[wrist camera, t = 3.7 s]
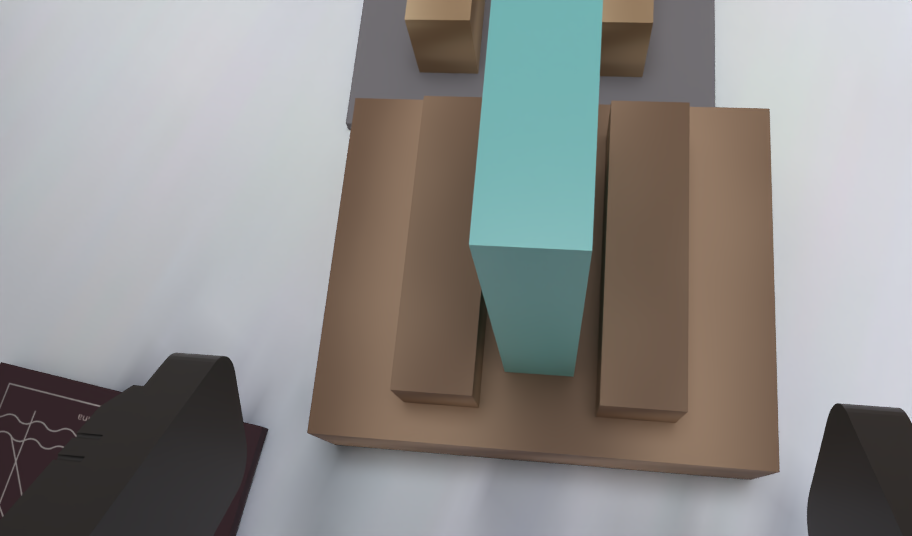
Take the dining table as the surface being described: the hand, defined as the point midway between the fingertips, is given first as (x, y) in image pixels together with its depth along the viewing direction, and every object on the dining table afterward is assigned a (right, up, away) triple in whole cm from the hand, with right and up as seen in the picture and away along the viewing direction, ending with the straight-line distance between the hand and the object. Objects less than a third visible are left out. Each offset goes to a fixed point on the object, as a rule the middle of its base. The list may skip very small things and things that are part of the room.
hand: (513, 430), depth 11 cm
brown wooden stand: (+2, +1, +14) cm, 14 cm away
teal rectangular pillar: (+2, +2, +11) cm, 12 cm away
